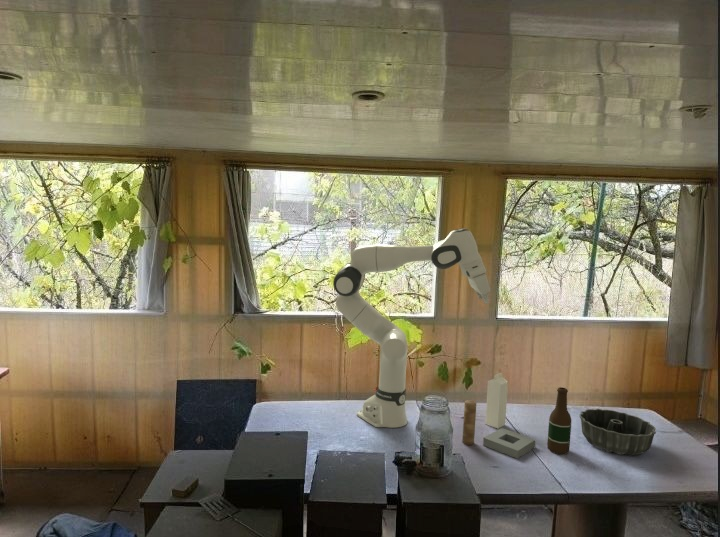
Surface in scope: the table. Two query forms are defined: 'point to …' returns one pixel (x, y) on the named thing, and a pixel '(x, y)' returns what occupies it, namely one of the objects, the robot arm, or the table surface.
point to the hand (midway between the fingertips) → (484, 300)
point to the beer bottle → (559, 425)
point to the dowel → (469, 422)
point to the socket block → (509, 442)
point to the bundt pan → (617, 431)
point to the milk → (496, 401)
